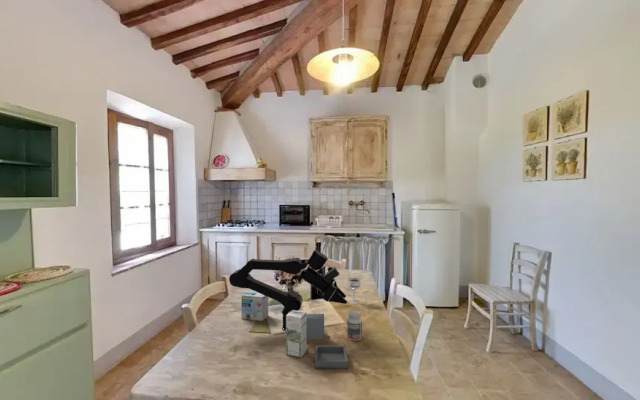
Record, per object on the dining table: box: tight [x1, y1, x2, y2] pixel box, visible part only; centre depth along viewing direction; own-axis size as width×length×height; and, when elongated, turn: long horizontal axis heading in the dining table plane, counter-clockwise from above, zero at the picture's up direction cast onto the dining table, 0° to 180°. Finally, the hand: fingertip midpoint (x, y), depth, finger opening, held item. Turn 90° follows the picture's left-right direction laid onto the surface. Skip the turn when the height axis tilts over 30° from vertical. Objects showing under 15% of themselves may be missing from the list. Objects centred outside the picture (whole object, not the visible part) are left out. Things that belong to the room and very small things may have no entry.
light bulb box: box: [240, 290, 269, 322], centre depth 150 cm, size 11×7×11 cm, turn 74°
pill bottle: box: [346, 310, 363, 342], centre depth 130 cm, size 6×6×10 cm
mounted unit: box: [306, 313, 329, 344], centre depth 129 cm, size 11×7×9 cm, turn 90°
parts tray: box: [314, 345, 349, 370], centre depth 113 cm, size 11×11×2 cm
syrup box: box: [285, 310, 308, 358], centre depth 117 cm, size 6×6×14 cm
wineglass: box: [346, 277, 362, 305], centre depth 170 cm, size 7×7×12 cm
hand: (346, 299), depth 138 cm, fingers open, 9 cm apart
